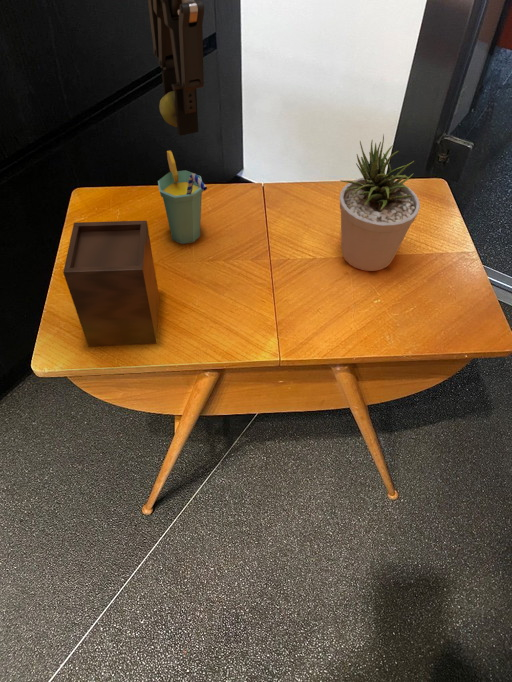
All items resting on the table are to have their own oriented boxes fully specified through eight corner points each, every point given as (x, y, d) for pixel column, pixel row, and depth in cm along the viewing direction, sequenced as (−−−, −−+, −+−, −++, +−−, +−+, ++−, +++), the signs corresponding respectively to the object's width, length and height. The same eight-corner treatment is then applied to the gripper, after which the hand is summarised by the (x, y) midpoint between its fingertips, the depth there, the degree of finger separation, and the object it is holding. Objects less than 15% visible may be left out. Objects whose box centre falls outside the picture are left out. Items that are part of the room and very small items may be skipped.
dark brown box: (88, 346, 81) (62, 272, 69) (95, 298, 87) (73, 222, 75) (156, 343, 81) (142, 269, 70) (159, 295, 88) (146, 220, 76)
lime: (156, 125, 76) (152, 89, 72) (183, 114, 78) (181, 79, 74) (176, 138, 74) (173, 101, 70) (203, 126, 76) (202, 90, 72)
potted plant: (417, 245, 97) (450, 142, 82) (384, 291, 89) (414, 186, 74) (353, 220, 101) (374, 117, 86) (317, 261, 94) (332, 156, 78)
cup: (228, 250, 95) (226, 175, 83) (189, 267, 92) (182, 192, 80) (186, 209, 102) (179, 135, 91) (149, 224, 99) (137, 149, 88)
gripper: (232, -66, 54) (232, 149, 72) (171, -106, 64) (184, 92, 82) (160, -59, 52) (178, 161, 70) (108, -102, 61) (136, 102, 79)
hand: (181, 124), depth 76 cm, fingers closed on lime, 4 cm apart
